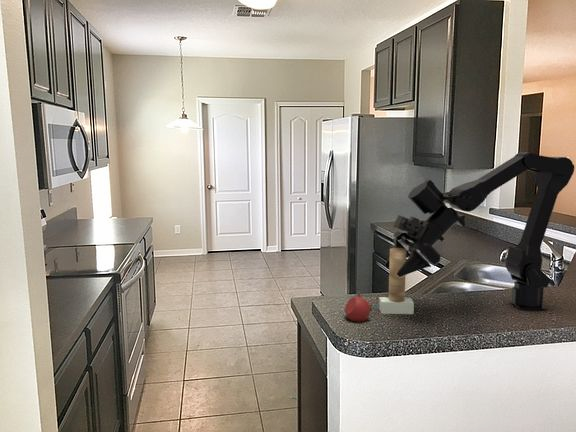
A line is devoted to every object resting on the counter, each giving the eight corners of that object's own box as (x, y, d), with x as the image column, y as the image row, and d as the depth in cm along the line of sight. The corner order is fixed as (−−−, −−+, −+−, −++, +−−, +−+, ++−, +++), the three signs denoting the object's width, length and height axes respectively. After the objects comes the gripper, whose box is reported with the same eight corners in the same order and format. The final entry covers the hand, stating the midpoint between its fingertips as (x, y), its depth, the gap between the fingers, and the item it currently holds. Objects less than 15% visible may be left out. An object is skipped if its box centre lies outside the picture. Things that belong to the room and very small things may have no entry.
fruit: (368, 330, 117) (384, 301, 117) (348, 321, 115) (365, 291, 115) (358, 322, 123) (373, 294, 123) (339, 312, 121) (355, 284, 121)
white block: (410, 309, 126) (410, 297, 126) (413, 314, 122) (413, 302, 122) (379, 308, 127) (379, 297, 126) (381, 313, 123) (381, 302, 122)
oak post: (405, 298, 125) (407, 248, 124) (403, 303, 122) (405, 251, 120) (389, 296, 127) (391, 247, 125) (387, 301, 123) (388, 250, 121)
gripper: (401, 200, 131) (360, 242, 131) (429, 208, 112) (381, 257, 112) (428, 229, 133) (388, 270, 133) (460, 241, 114) (413, 289, 114)
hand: (391, 270), depth 123 cm, fingers open, 9 cm apart
